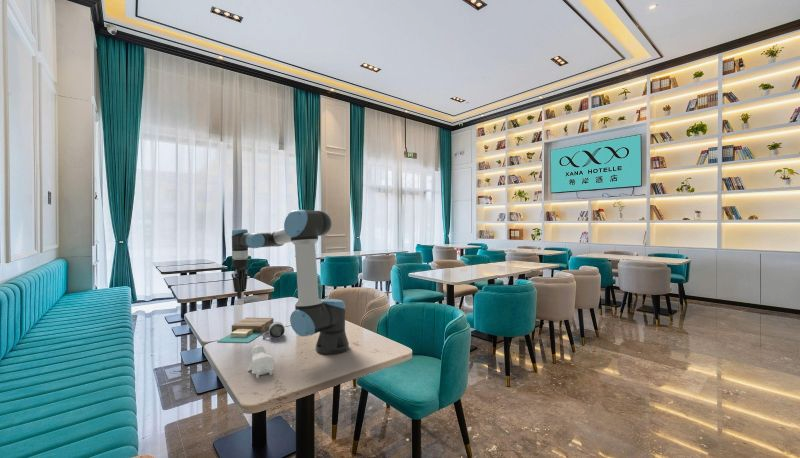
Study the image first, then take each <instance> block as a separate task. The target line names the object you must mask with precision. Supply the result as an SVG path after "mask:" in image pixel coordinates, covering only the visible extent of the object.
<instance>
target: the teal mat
mask: <svg viewBox="0 0 800 458" xmlns="http://www.w3.org/2000/svg"><path fill="white" fill-rule="evenodd" d="M262 335H263V332H262V333H252V334H250V335H249V336H247V337H231V333H230V334H228V335H226V336H225V337H223V338H221V339H218V340H217V342H216V343H234V344H235V343H237V344H238V343H239V344H250V343H251V342H252V341H254V340H255V339H257V338H258V337H260V336H262Z"/></svg>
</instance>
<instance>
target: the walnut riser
mask: <svg viewBox="0 0 800 458" xmlns="http://www.w3.org/2000/svg"><path fill="white" fill-rule="evenodd" d="M274 320H275V319H274V317H244V318H243V319H241V320H239V321H238V322H235V323H234V324H232V325H231V333H232V332H234V331H235V330H237V329H253V333H262V334H263V332H264V333H265V331H267V330H269V327H270V325H271V324H272V323H274V322H275V321H274Z"/></svg>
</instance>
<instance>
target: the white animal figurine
mask: <svg viewBox="0 0 800 458" xmlns="http://www.w3.org/2000/svg"><path fill="white" fill-rule="evenodd" d="M265 350H266V349H265V348H264V345H262V344H261V345H260V344H259V345H255V346H253V347H252V348H251V353H250V355H251V360H250V365H249V366H248V368H247V372H251V374H254V375H255V379H259V377H260V376H262V375H266V374H269V376H273V371H274V366H275V365H274V364H275V363H274V357H272V356H271V354H268V353H266V351H265Z"/></svg>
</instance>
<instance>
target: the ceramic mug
mask: <svg viewBox="0 0 800 458" xmlns="http://www.w3.org/2000/svg"><path fill="white" fill-rule="evenodd" d="M285 332H286V331H285V326H284V324H283V323H282V322H281V321H274V323H272V324H271V325H270V327H269V328H268V331H266V332H264V333H262V338H263V339H267V338H269V337H270V338H272V339H274V340H278V339H279V340H280V339H281V338H282V337H283V336H284V335H285Z"/></svg>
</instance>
